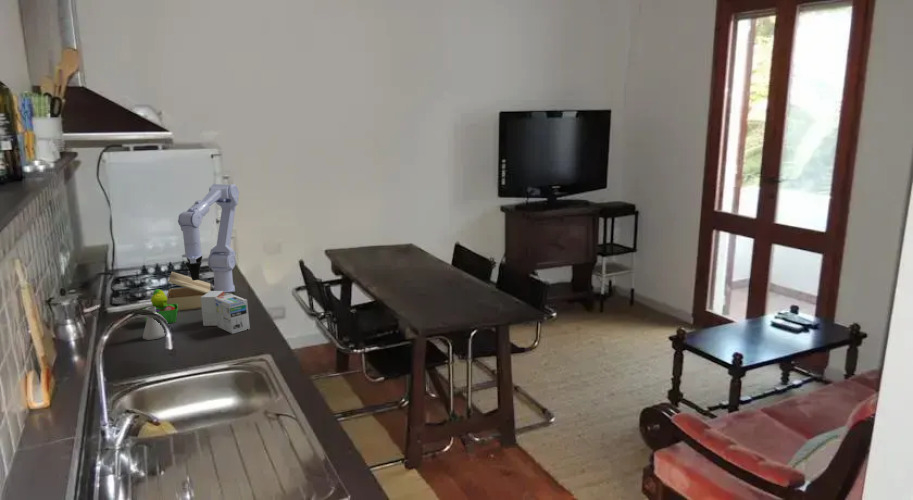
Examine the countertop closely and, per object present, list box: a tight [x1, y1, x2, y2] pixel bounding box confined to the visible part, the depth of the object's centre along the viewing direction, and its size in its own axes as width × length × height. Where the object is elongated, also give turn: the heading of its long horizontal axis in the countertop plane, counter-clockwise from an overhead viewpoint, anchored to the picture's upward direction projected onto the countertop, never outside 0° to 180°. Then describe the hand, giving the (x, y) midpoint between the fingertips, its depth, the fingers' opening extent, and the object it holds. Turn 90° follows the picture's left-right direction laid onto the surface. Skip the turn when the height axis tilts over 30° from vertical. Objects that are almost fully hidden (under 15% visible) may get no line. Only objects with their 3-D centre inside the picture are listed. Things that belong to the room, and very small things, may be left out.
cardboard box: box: [166, 287, 212, 312], centre depth 247 cm, size 14×15×5 cm
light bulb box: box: [215, 293, 251, 334], centre depth 220 cm, size 11×7×11 cm, turn 47°
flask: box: [142, 306, 166, 341], centre depth 213 cm, size 7×7×10 cm
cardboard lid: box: [168, 271, 211, 293], centre depth 246 cm, size 14×15×1 cm
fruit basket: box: [142, 288, 178, 324], centre depth 227 cm, size 11×9×11 cm
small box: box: [200, 290, 226, 327], centre depth 226 cm, size 8×6×10 cm
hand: (195, 277), depth 247 cm, fingers open, 7 cm apart
